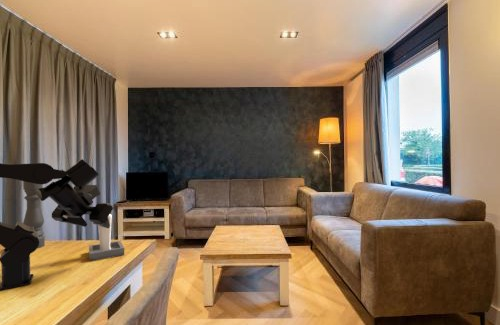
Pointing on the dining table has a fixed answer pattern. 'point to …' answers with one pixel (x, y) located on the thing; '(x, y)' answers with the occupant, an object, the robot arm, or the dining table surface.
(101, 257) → the gray tray
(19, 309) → the dining table surface
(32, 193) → the candle holder
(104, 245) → the perfume bottle
